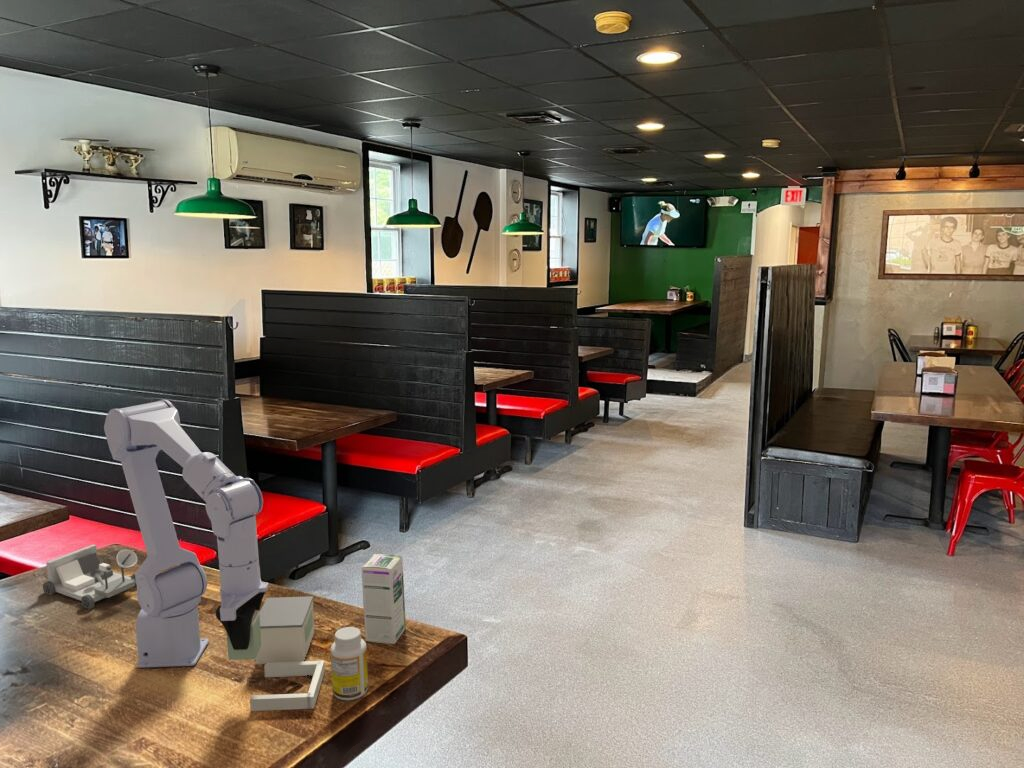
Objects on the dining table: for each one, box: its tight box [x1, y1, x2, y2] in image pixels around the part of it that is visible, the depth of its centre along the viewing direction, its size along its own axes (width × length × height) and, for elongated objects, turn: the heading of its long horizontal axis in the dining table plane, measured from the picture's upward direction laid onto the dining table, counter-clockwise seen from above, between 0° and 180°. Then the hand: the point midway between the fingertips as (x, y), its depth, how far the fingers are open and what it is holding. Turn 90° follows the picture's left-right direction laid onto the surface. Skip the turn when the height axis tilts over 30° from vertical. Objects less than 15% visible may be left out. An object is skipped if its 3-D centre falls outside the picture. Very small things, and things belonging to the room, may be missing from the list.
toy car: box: [42, 544, 138, 610], centre depth 154 cm, size 18×10×12 cm
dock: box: [249, 660, 326, 712], centre depth 121 cm, size 10×10×2 cm
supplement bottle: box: [330, 626, 369, 701], centre depth 120 cm, size 6×6×10 cm
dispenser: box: [254, 596, 315, 665], centre depth 133 cm, size 8×10×7 cm
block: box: [225, 609, 262, 661], centre depth 118 cm, size 4×4×6 cm
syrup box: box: [360, 553, 407, 645], centre depth 136 cm, size 6×6×14 cm
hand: (245, 640), depth 119 cm, fingers closed on block, 4 cm apart
